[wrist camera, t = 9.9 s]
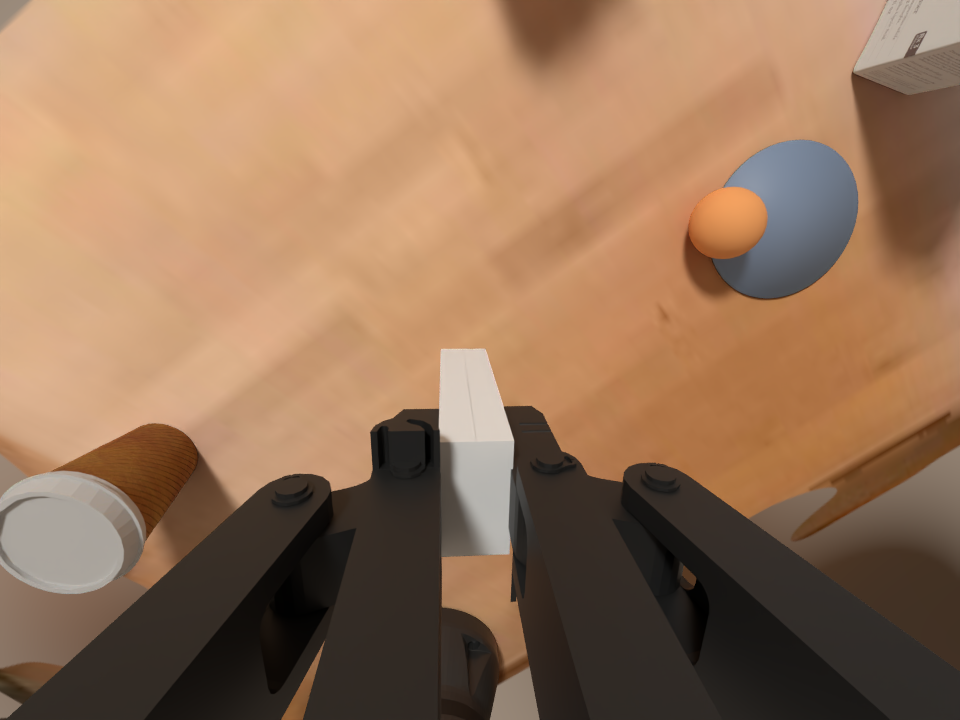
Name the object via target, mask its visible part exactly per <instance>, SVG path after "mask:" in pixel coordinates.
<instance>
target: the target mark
mask: <svg viewBox="0 0 960 720" xmlns="http://www.w3.org/2000/svg"><path fill="white" fill-rule="evenodd" d="M726 187H742V188H745V189H748V190H750V191H752V192H754V193H755V194H756V195H758V196H759V197H760V198H761V200H762V201H763V203H764V204H765V207H766V210H767V215H768V220H767V226H766V230H765V232H764V234H763V236H762V238H761V239H760V241H759V242H758V243H757V244H756V245H755V246H754V247H753V248H752V249H750V250H749V251H748V252H746V253H744V254H742V255H740V256H737V257H734V258H730V259H715V258H712V260H713V263H714V265H715V267H716V269H717V271H718V273H719V274H720V276H721V277H722V278H723V279H724V280H725V282H726V283H727V284H728V285H730V286H731V287H732V288H734V289H735V290H737V291H739V292H741V293H743V294H746V295H749V296H752V297H757V298H778V297H783V296H787V295H790V294H793V293H796V292H798V291H800V290H802V289H804V288H806V287H808V286H809V285H811V284H812V283H814V282H815V281H817V280H818V279H819V278H820V277H822V276H823V275H824V274H825V273H826V272H827V271H828V270H829V269H830V268H831V267H832V266H833V265H834V263H835V262H836V261H837V260H838V258H839V257H840V255H841V254H842V252H843V251H844V249H845V247H846V245H847V244H848V242H849V239H850V237H851V235H852V232H853V229H854V226H855V223H856V217H857V212H858V191H857V186H856V181H855V179H854V176H853V173H852V171H851V169H850V167H849V165H848V164H847V163H846V161H845V160H844V159H843V158H842V157H841V156H840V155H839V154H838V153H837V152H836V151H834V150H833V149H831V148H830V147H828V146H826V145H824V144H821V143H818V142H814V141H809V140H792V141H786V142H782V143H778V144H775V145H772V146H770V147H767V148H765V149H763V150H761V151H760V152H758V153H756V154H755V155H753V156H752V157H750V158H749V159H748V160H747V161H746V162H744V163H743V164H742V165H741V166H740V167H739V168H738V169H737V170H736V171H735V172H734V173H733V174H732V176H731V177H730V178H729V180H728V181H727V182H726V184H725V185H724V187H723V188H726Z"/></svg>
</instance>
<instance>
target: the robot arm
mask: <svg viewBox="0 0 960 720" xmlns="http://www.w3.org/2000/svg"><path fill="white" fill-rule="evenodd" d="M370 434H371V449H372V465H373V471H372V474H371V478H370V480H368V481H366V482H364V483H362V484H360V485H357V486H354V487H350V488H346V489H342V490H337V491H333V492H331V487H330V483H329V481H327V480H326V479H325V478H323V477H321V476H317V475H313V474H293V475H288V476H284V477H282V478H280V479H277V480H275V481H272V482H270V483H268V484H267V485H265V486H264V487H262V488H261V489H259V490H258V491H257V492H256V493H255V494H254V495H253V496H252V497H250V498H249V499H248V500H247V501H246V502H245V503H244V504H243V505H242V506H241V507H239V508H238V509H237V510H236V511H235V512H234V513H233V514H232V515H231V516H229V517H228V518H227V519H226V520H225V521H224V522H223V523H222V524H221V525H220V526H218V527H217V528H216V529H215V530H214V531H213V532H212V533H211V534H210V535H209V536H207V537H206V538H205V539H204V540H203V541H202V542H201V543H200V544H199V545H198V546H196V547H195V548H194V549H193V550H192V551H191V552H190V553H189V554H188V555H187V556H185V557H184V558H183V559H182V560H181V561H180V562H179V563H178V564H177V565H175V566H174V567H173V568H172V569H171V570H170V571H169V572H168V573H167V574H166V575H164V576H163V577H162V578H161V579H160V580H159V581H158V582H157V583H156V584H155V585H153V586H152V587H151V588H150V589H149V590H148V591H147V592H146V593H145V594H144V595H142V596H141V597H140V598H139V599H138V600H137V601H136V602H135V603H134V604H133V605H132V606H130V607H129V608H128V609H127V610H126V611H125V612H124V613H123V614H122V615H121V616H119V617H118V618H117V619H116V620H115V621H114V622H113V623H112V624H110V625H109V626H108V627H107V628H106V629H105V630H104V631H103V632H102V633H101V634H100V635H98V636H97V637H96V638H95V639H94V640H93V641H92V642H91V643H90V644H88V645H87V646H86V647H85V648H84V649H83V650H82V651H81V652H80V653H79V654H78V655H76V656H75V657H74V658H73V659H72V660H71V661H70V662H69V663H68V664H66V665H65V666H64V667H63V668H62V669H61V670H60V671H59V672H58V673H56V674H55V675H54V676H53V677H52V678H51V679H50V680H49V681H48V682H47V683H45V684H44V685H43V686H42V687H41V688H40V689H39V690H38V691H37V692H36V693H34V694H33V695H32V696H31V697H30V698H29V699H28V700H27V701H26V702H25V703H23V704H22V705H21V706H20V707H19V708H18V709H17V710H16V711H15V712H13V713H12V714H11V715H10V716H9V717H8V718H7V719H6V720H281V719H282V717H283V715H284V713H285V711H286V710H287V708H288V706H289V704H290V702H291V701H292V699H293V697H294V695H295V693H296V691H297V690H298V688H299V686H300V684H301V682H302V681H303V679H304V677H305V675H306V673H307V672H308V670H309V668H310V666H311V664H312V662H313V661H314V659H315V657H316V655H317V653H318V652H319V650H320V648H321V646H322V644H323V642H324V641H325V643H324V646H323V650H322V654H321V657H320V661H319V664H318V668H317V671H316V675H315V679H314V682H313V686H312V689H311V693H310V697H309V700H308V704H307V707H306V711H305V714H304V718H303V720H490V716H491V712H492V707H493V702H494V697H495V692H496V688H497V683H498V678H499V658H498V649H497V644H496V641H495V638H494V636H493V634H492V633H491V631H490V630H489V629H488V628H487V627H486V626H485V625H484V624H483V623H482V622H481V621H479V620H478V619H477V618H475V617H473V616H471V615H469V614H467V613H464V612H461V611H458V610H454V609H448V608H442V564H441V557H451V556H475V555H499V554H509V549H510V538H511V543H512V548H513V563H512V584H511V602H515V601H516V597H517V601H518V606H519V612H520V617H521V622H522V628H523V633H524V638H525V644H526V649H527V654H528V660H529V665H530V670H531V675H532V681H533V686H534V691H535V697H536V702H537V708H538V713H539V718H540V720H960V671H958V670H957V669H955V668H954V667H953V666H951V665H950V664H948V663H947V662H945V661H944V660H943V659H941V658H940V657H939V656H937V655H936V654H934V653H933V652H932V651H930V650H929V649H928V648H926V647H925V646H924V645H922V644H921V643H919V642H918V641H916V640H915V639H914V638H912V637H911V636H910V635H908V634H907V633H905V632H904V631H903V630H901V629H900V628H899V627H897V626H896V625H894V624H893V623H892V622H890V621H889V620H887V619H886V618H885V617H883V616H882V615H881V614H879V613H878V612H876V611H875V610H874V609H872V608H871V607H869V606H868V605H867V604H865V603H864V602H862V601H861V600H860V599H858V598H857V597H855V596H854V595H853V594H851V593H850V592H849V591H847V590H846V589H844V588H843V587H841V586H840V585H839V584H838V583H836V582H835V581H833V580H832V579H831V578H829V577H828V576H826V575H825V574H824V573H822V572H821V571H820V570H818V569H817V568H815V567H814V566H813V565H811V564H810V563H808V562H807V561H806V560H804V559H803V558H802V557H800V556H799V555H797V554H796V553H795V552H793V551H792V550H790V549H789V548H788V547H786V546H785V545H783V544H782V543H780V542H779V541H778V540H777V539H775V538H774V537H772V536H771V535H770V534H768V533H767V532H765V531H764V530H762V529H761V528H760V527H759V526H757V525H756V524H754V523H753V522H752V521H750V520H749V519H747V518H746V517H745V516H743V515H742V514H741V513H739V512H738V511H736V510H735V509H734V508H732V507H731V506H729V505H728V504H727V503H725V502H724V501H722V500H721V499H720V498H718V497H717V496H716V495H714V494H713V493H711V492H710V491H709V490H707V489H706V488H704V487H703V486H702V485H700V484H699V483H698V482H696V481H695V480H693V479H692V478H691V477H689V476H688V475H686V474H684V473H682V472H681V471H679V470H677V469H674V468H671V467H668V466H666V465H664V464H659V463H658V464H656V463H640V464H635V465H632V466H629V467H628V468H627V469H626V470H625V472H624V476H623V482H618V481H611V480H605V479H600V478H595V477H591V476H589V475H587V473H586V471H585V470H584V468H583V466H582V464H581V463H580V462H579V461H578V460H577V459H576V458H575V457H573V456H572V455H570V454H568V453H566V452H562V451H561V449H560V447H559V445H558V443H557V441H556V439H555V437H554V435H553V433H552V432H551V429H550V427H549V425H548V424H547V421H546V419H545V417H544V415H543V414H542V413H541V412H539V411H538V410H536V409H535V408H533V407H532V406H505V407H503V403H502V400H501V397H500V394H499V391H498V387H497V384H496V381H495V378H494V375H493V371H492V368H491V365H490V362H489V359H488V355H487V352H486V349H441V363H440V399H439V409H404V410H402V411H401V412H400V413H399V414H398V415H396V416H395V417H394V418H392V419H389V420H385V421H383V422H381V423H379V424H377V425H375V426H374V428H373V429H372V430H371V432H370ZM683 566H685V567H687V568H688V569H689V570H690V571H691V572H692V573H693V574H694V575H695V576H696V578H697V579H696V584H695V586H693V585H691V584H690V583H689V582H687V580H686V579H685V578H684V577H683V576H682V572H683Z"/></svg>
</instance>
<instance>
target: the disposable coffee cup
mask: <svg viewBox="0 0 960 720" xmlns="http://www.w3.org/2000/svg"><path fill="white" fill-rule="evenodd" d="M197 461H198V457H197V451H196V448H195V446H194V444H193V443H192V441H191V440H190V439H189V438H188V437H187V436H186V435H185V434H184V433H183V432H181V431H179V430H178V429H176V428H174V427H171V426H168V425H164V424H147V425H143V426H140V427H138V428H136V429H135V430H133V431H131V432H129V433H127V434H125V435H123V436H121V437H119V438H117V439H115V440H113V441H111V442H109V443H107V444H105V445H103V446H100V447H99V448H97V449H95V450H93V451H91V452H89V453H87V454H85V455H83V456H81V457H79V458H77V459H75V460H73V461H71V462H69V463H67V464H65V465H63V466H61V467H59V468H57V469H55V470H53V471H51V472H48V473H45V474H38V475H35V476H32V477H29V478H26V479H24V480H22V481H20V482H18V483H16V484H15V485H13V486H11V487H10V488H9V489H8V490H7V491H6V492H5V493H4V494H3V496H2V497H1V499H0V564H1V565H2V566H3V567H4V568H5V569H6V570H7V571H8V572H9V573H10V574H12V575H13V576H14V577H16V578H17V579H19V580H21V581H23V582H25V583H27V584H29V585H31V586H33V587H36V588H39V589H41V590H45V591H49V592H55V593H63V594H79V593H86V592H89V591H93V590H96V589H98V588H101V587H103V586H105V585H106V584H107V583H109V582H110V581H113V580H115V579H118V578H120V577H122V576H123V575H125V574H126V573H128V572H129V571H130V570H131V569H132V568H133V567H134V566H135V565H136V563H137V562H138V561H139V559H140V556H141V554H142V552H143V548H144V544H145V541H146V540H147V538H148V537H149V535H150V534H151V532H152V531H153V529H154V528H155V527H156V525H157V523H158V522H159V521H160V519H161V518H162V516H163V515H164V513H165V512H166V510H167V509H168V507H169V506H170V505H171V502H173V500H174V499H175V497H176V496H177V494H178V493H179V492H180V490H181V488H182V487H183V486H184V484H185V483H186V481H187V480H188V478H189V477H190V475H191V474H192V473H193V471H194V470H195V468H196V465H197Z"/></svg>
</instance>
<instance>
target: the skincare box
mask: <svg viewBox="0 0 960 720" xmlns="http://www.w3.org/2000/svg"><path fill="white" fill-rule="evenodd" d="M853 72H854V74H857V75H859V76H861V77H864V78H866V79H869V80H871V81H874V82H876V83H879V84H881V85H884V86H886V87H889V88H891V89H893V90H896V91H899V92H901V93H903V94H906V95H913V94H918V93H923V92H928V91H933V90H938V89H943V88H948V87H953V86H958V85H960V0H888V1H887V3H886V6H885V8H884V10H883V12H882V14H881V16H880V18H879V20H878V22H877V24H876V26H875V28H874V30H873V32H872V34H871V36H870V38H869V40H868V42H867V44H866V46H865V48H864V50H863V52H862V54H861V56H860V57H859V59H858V61H857V63H856V65H855V67H854V70H853Z"/></svg>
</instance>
